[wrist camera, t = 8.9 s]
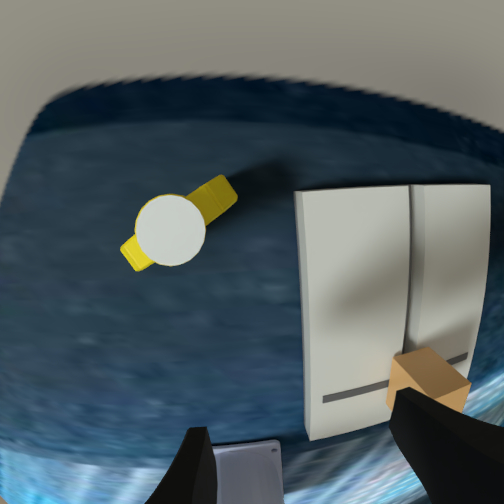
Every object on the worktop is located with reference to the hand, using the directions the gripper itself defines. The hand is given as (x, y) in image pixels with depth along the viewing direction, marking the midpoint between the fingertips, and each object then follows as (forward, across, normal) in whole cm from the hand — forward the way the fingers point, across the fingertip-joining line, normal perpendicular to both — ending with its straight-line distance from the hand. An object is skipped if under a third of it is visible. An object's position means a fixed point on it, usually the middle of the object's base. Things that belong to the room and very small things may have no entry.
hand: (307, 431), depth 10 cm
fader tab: (+9, -9, +5) cm, 14 cm away
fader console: (+9, -9, 0) cm, 13 cm away
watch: (+10, +4, -7) cm, 13 cm away
